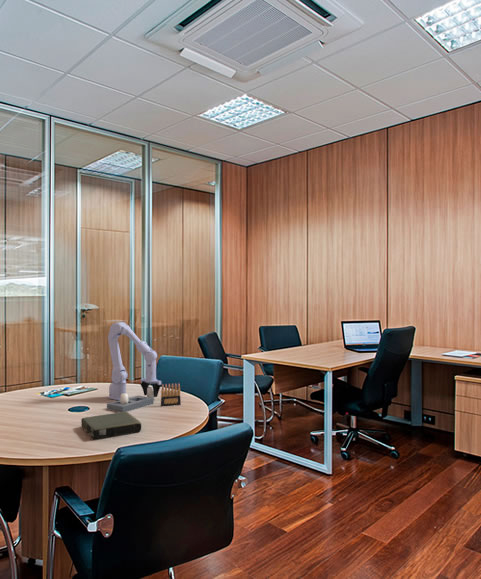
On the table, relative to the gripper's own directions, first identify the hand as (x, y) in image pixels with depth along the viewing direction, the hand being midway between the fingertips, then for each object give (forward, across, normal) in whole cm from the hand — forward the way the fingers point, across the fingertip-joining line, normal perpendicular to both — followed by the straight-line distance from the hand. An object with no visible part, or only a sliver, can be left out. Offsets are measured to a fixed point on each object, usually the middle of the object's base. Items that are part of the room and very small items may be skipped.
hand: (150, 395), depth 250 cm
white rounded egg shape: (+2, 0, 0) cm, 2 cm away
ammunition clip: (+2, -18, +3) cm, 18 cm away
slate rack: (+2, -2, +17) cm, 17 cm away
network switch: (+3, -25, +50) cm, 56 cm away
